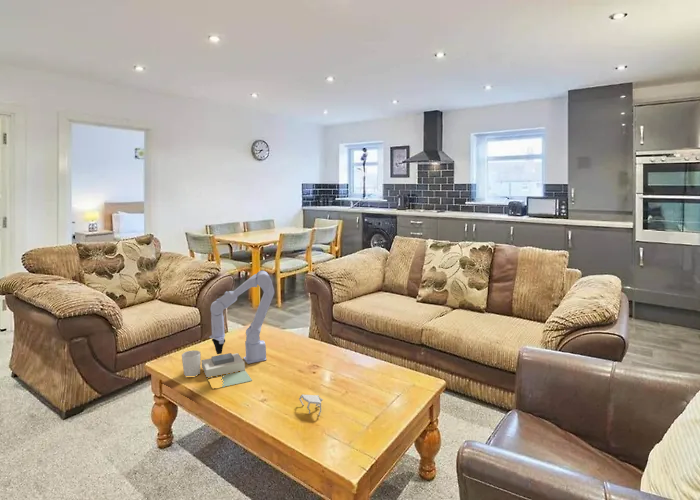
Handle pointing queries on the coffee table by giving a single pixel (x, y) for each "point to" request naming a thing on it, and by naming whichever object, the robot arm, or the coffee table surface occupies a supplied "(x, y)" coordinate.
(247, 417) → the coffee table surface
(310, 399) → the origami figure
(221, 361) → the gray rectangular block
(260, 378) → the coffee table surface
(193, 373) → the white cup
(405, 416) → the coffee table surface
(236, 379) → the mat
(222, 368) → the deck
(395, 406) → the coffee table surface
